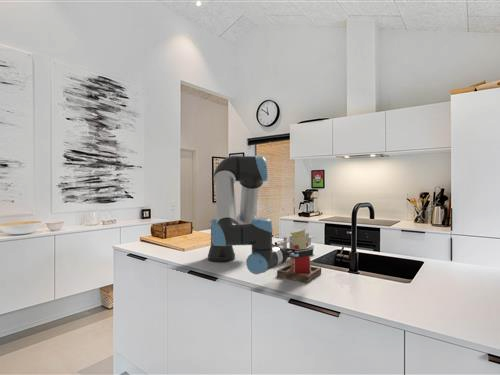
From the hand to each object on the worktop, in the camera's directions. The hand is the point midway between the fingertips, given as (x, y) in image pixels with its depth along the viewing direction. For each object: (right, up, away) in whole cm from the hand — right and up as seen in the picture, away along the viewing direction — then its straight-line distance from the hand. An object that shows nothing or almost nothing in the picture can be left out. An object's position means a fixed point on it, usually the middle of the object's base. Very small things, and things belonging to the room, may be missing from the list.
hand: (298, 245), depth 133 cm
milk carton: (+1, -13, +1) cm, 13 cm away
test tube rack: (+4, -13, +30) cm, 33 cm away
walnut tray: (+1, -14, +2) cm, 14 cm away
